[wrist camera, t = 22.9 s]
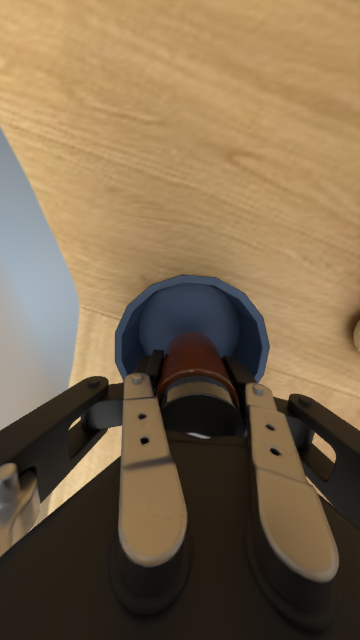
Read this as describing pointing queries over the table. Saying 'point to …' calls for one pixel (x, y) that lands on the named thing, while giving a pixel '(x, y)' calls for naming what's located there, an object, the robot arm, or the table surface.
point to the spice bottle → (197, 389)
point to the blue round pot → (192, 322)
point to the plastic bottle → (357, 336)
